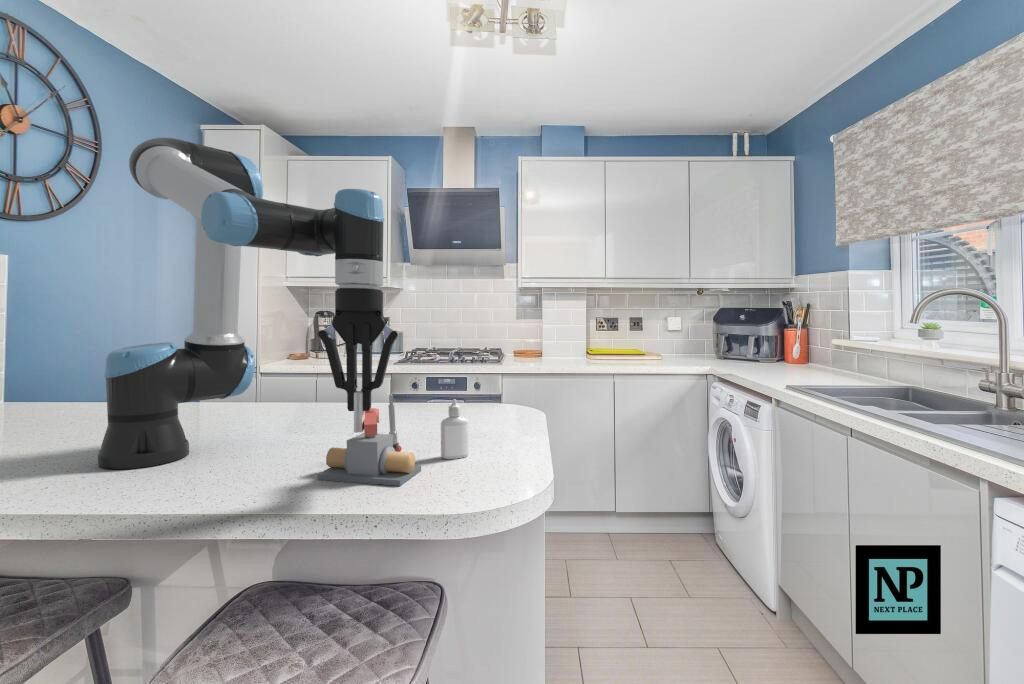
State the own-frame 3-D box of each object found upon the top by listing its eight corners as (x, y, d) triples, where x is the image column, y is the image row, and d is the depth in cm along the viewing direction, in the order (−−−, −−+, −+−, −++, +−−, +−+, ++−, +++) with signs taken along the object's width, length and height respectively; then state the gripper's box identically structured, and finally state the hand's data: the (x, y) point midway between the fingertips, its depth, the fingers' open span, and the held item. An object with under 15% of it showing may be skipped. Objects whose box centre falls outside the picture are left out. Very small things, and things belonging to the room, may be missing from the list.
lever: (360, 421, 95) (360, 408, 94) (378, 420, 96) (378, 407, 95) (360, 438, 82) (360, 423, 81) (381, 436, 82) (380, 422, 82)
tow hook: (347, 463, 103) (392, 461, 103) (343, 399, 103) (388, 398, 102) (361, 452, 112) (403, 451, 111) (358, 393, 111) (400, 392, 111)
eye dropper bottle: (466, 460, 104) (466, 401, 103) (439, 459, 104) (438, 401, 103) (469, 454, 108) (469, 398, 108) (443, 453, 108) (443, 397, 108)
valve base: (317, 479, 91) (316, 427, 91) (345, 465, 100) (344, 417, 100) (400, 486, 88) (399, 431, 87) (421, 470, 97) (420, 421, 96)
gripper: (312, 285, 79) (313, 436, 80) (396, 287, 81) (396, 435, 82) (324, 288, 86) (325, 425, 88) (401, 289, 88) (401, 425, 89)
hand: (359, 430), depth 85 cm, fingers closed
